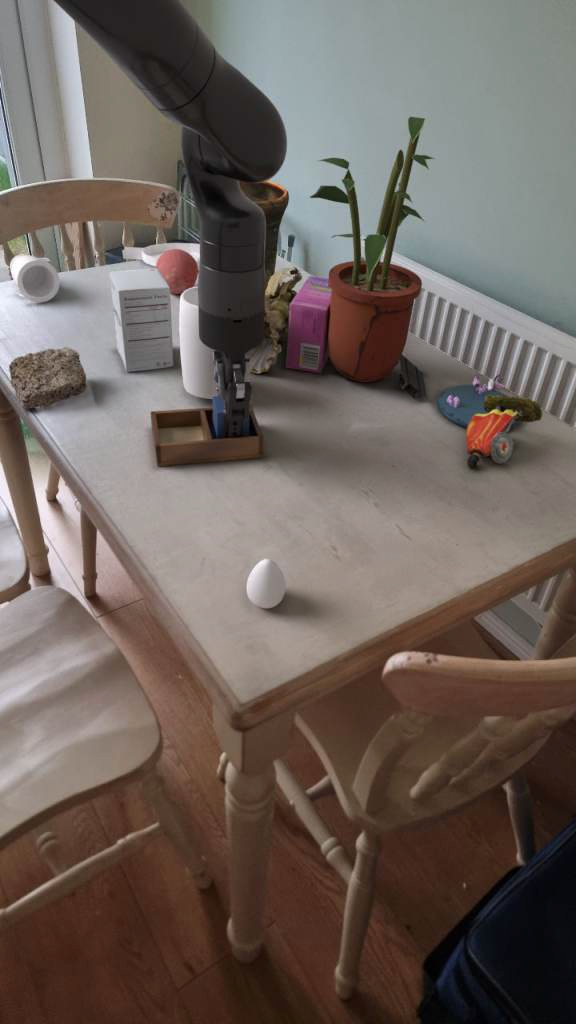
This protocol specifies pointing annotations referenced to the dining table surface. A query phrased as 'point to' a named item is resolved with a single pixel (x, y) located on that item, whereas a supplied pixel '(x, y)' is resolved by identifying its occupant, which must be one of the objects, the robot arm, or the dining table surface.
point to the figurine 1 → (274, 319)
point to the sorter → (200, 438)
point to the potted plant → (373, 278)
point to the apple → (178, 270)
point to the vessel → (268, 216)
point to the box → (309, 326)
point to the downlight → (35, 277)
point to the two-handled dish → (160, 252)
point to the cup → (194, 349)
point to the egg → (266, 584)
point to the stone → (47, 377)
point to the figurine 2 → (497, 427)
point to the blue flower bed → (467, 401)
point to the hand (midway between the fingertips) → (230, 428)
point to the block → (219, 419)
